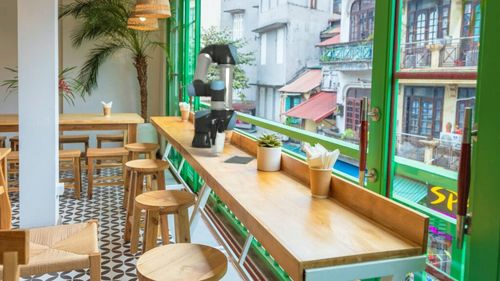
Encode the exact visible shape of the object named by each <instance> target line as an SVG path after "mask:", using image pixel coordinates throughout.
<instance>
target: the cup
mask: <svg viewBox="0 0 500 281" xmlns="http://www.w3.org/2000/svg"><path fill="white" fill-rule="evenodd" d="M226 135H227V131H226V132H225V131H224V132H222V133H218V130H217V136H216V139H217V151H212V139H210V143H211V149H210V150H211V152H212V153H215V154H221V153H223V152H224V148H225V147H224V146H225V141H226ZM209 137H210V132H209Z"/></svg>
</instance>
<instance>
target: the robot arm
mask: <svg viewBox="0 0 500 281" xmlns="http://www.w3.org/2000/svg"><path fill="white" fill-rule="evenodd" d="M237 50H238V49H237V46H236V45H235V44H229V43H224V44H223V43H219V44H218V43H217V44H216V43H211V44H208V45H205V46H204V47H202V48H201V50H199V52H198V54H197V56H196V66H195V71H194V75H193V79H192V82H190V83H187V85H186V94H187V96H188V97H194V98H196V97H197V98H198V97H199V98H200V97H202V98H210V109H204V110H203V109H202V110H197V111H195V113H194V117H193V118H194V119H193V120H194V127H193V128H194V129H193V131H194V132H193V133H194V135H193V138H192V140H191V141H192V142H191V147H192V148H197V149H199V148H200V149H210V148H211V143H210V139H212V150H211V152H212V151H217V139H216V136H217V131H218V133H222V132H225V131H226V132H227V131H234V130H235V128H236V124H237V123H236V122H237V116H238V113H237V112H236V110H235V108H234V107H233V92H234V91H233V90H234V88H233V83H234V69H235V67H236V64H238V63H239V60H238V59H239V58H238V51H237ZM212 64H216V66H217V68H218V69H219V72H218V74H219V76H218V80H211V81H210V83H207V79H208V75H209V74H208V73H209V70H210V66H211V65H212ZM209 132H210V137H209Z"/></svg>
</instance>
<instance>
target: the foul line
mask: <svg viewBox="0 0 500 281" xmlns="http://www.w3.org/2000/svg"><path fill="white" fill-rule="evenodd" d="M234 156H235V155H234V154H230V155H229V156H227V157H225V158H223V159H221V160H220V162H222V163H225V162H224V161H226V160H228V159H230V158H232V157H234Z"/></svg>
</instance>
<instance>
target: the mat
mask: <svg viewBox="0 0 500 281" xmlns="http://www.w3.org/2000/svg"><path fill="white" fill-rule="evenodd" d="M253 160H256V157H254V156H239V155H234V157H232V158H230V159H228V160H226V161H224V162H223V163H225V164H238V165H239V164H240V165H241V164H242V165H243V164H244V165H246V164H249V163H251V162H252V161H253Z"/></svg>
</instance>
